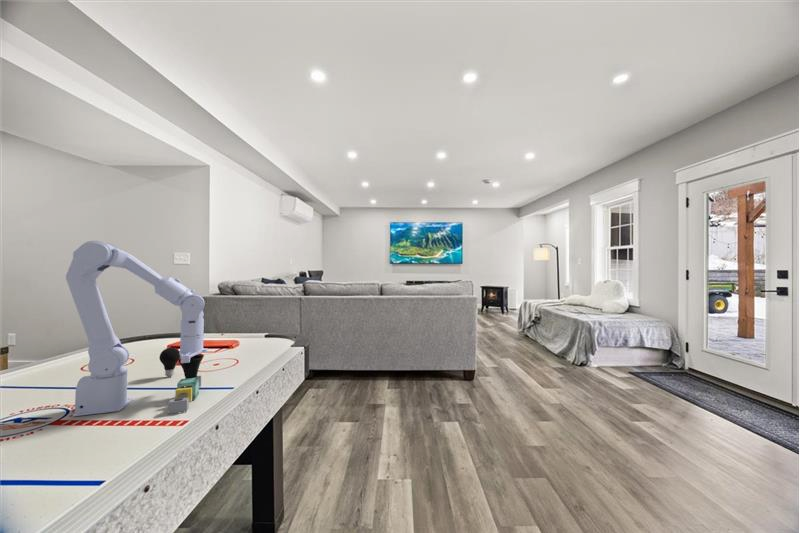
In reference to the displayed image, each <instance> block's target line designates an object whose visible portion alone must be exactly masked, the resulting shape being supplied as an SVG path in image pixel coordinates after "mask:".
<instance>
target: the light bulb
mask: <svg viewBox="0 0 800 533" xmlns="http://www.w3.org/2000/svg"><path fill="white" fill-rule="evenodd" d="M179 351H180V349H177V348H176V347H167V348H165V349H163V350H162V351H161V353H160V354H159V361H160V363H161V364H162V365H163V369H164V371H165V372H164V373H165V376H166V377H168V378H171V377H172V376H173V375H174V374H175V368H176V365H177V364H178V363H177V362H179V359H180V358H181V356H180V354H179Z"/></svg>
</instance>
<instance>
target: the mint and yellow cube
mask: <svg viewBox="0 0 800 533" xmlns="http://www.w3.org/2000/svg"><path fill="white" fill-rule="evenodd" d="M186 386H192V400H195V399H197V397H198V395H200V394H199V393H200V387H199V377H197V378H186V379H185V378H181V379H180V380H179V381H178V382H177V384H176V389H182V388H185V387H186Z"/></svg>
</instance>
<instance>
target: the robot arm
mask: <svg viewBox="0 0 800 533" xmlns="http://www.w3.org/2000/svg"><path fill="white" fill-rule="evenodd" d="M110 267H115V268H119V269H120V268H121V269H126V271H129V272H130V273H132V274H134V275H135V276H137V277H138V278H141V279H142V280H144V281H145V282H147V283H149V284H150V285H151V286H153V287H154V293H155V294H157V295H158V296H160V297H161V298H162V299H164V300H166V301H167V302H169V303H170V304H173V305H174V306H175V307H176V306H177V307H179V309H180V312H181V320H180V338H179V341H180V342H179V343H180V348H179V354H180V359H179V360H178V364H179V365H180V366H181V368H182V370H183V375H184V377H185V378H184V379H186V378H196V377H197V375H198V373H199V368H200V365H201V362H203V361H202V360H203V359H204V357H205V355H204V354H203V353H206V352H208V351H209V349H208V347H207V348H206V347H205V348H204V330H205V327H204V326H205V319H204V316H205V315H204V308H205V299H204V298H203V297H202V296H201V294H199V293H195V292H196V291H195V289H190V288H188V287H187V286H185V285H184V284H183V283H181V280H180V279H179V278H174V277H171V276H169V277H163V276H162V275H161V274H159V273H158V272H157V271H155V270H153V269H152V268H150V267H149V266H148V265H147V264H145V263H144V262H143V261H141V260H139V259H138V258H137V257H135V256H134V255H132V254H130V253H128V252H127V251H124V250H122V249H121V248H120V249H119V248H118V247H117V246H116V245H113V244H112V243H106V242H103V241H100V240H90V241H86V242H84V243H82V244H81V245H80V246H79V247H77V249H76V250H73V252H72V260H71V261H70V265H69V267H68V269H67V272H66V274H65V280H66V282H67V285H68V289H69V291H70V293H71V296H72V299H73V302H74V304H75V307H76V310H77V313H78V315H79V318H80V321H81V324H82V326H83V329H84V332H85V335H86V337H87V340H88V342H89V345H88V352H87V353H88V357H89V361H88V364H87V365H88V366H87V369H88V371H89V373H90V375H85V376H82V377H80V379H79V380H78V381H77V384H76V387H75V394H74V396H75V398H74V399H75V400H74V401H75V402H74V413H73V414H72V417H80V416H88V415H89V416H90V415H96V414H104V413H105V414H106V413H114V412H120V411H122V410H123V409H125V407H126V406H127V405H129V404H130V403H131V402H132V401H133V400H134V398H133V397H129V398H128V396H127V393H128V368H127V367H126V366H125V364H126V363H127V362H128V361H129V358H130V352H129V350H128V349H127V348H126V347H125V346H123V345H122V342H121V340H120V339H119V337H118V336H117V335H116V334H115V332H114V329H113V326H112V324H111V320H110V318H109V315H108V312H107V308H106V306H105V303H104V301H103V298H102V295H101V292H100V288H99V287H98V284H97V278H98V277H99V276H100V275H101V274H102V273H103V272H105V270H106V269H109V268H110Z"/></svg>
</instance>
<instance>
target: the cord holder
mask: <svg viewBox="0 0 800 533" xmlns="http://www.w3.org/2000/svg"><path fill="white" fill-rule="evenodd" d="M197 377H199V386H201V385H203V383H202V382H203V379H202V378H203V374H197ZM197 377H196V378H197ZM201 387H202V386H201ZM192 401H193V399H192V386H184V388H182V389H177V388H176V389H175V397H174V398H173V399H170V400H169V401H168V407H167V409H168V411H167V415H173V413H174V414H180V413H179V412H182V413H185V412H184V411H187V410H188V411H189V408H190V403H191V402H192ZM188 411H187V412H188Z"/></svg>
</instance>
